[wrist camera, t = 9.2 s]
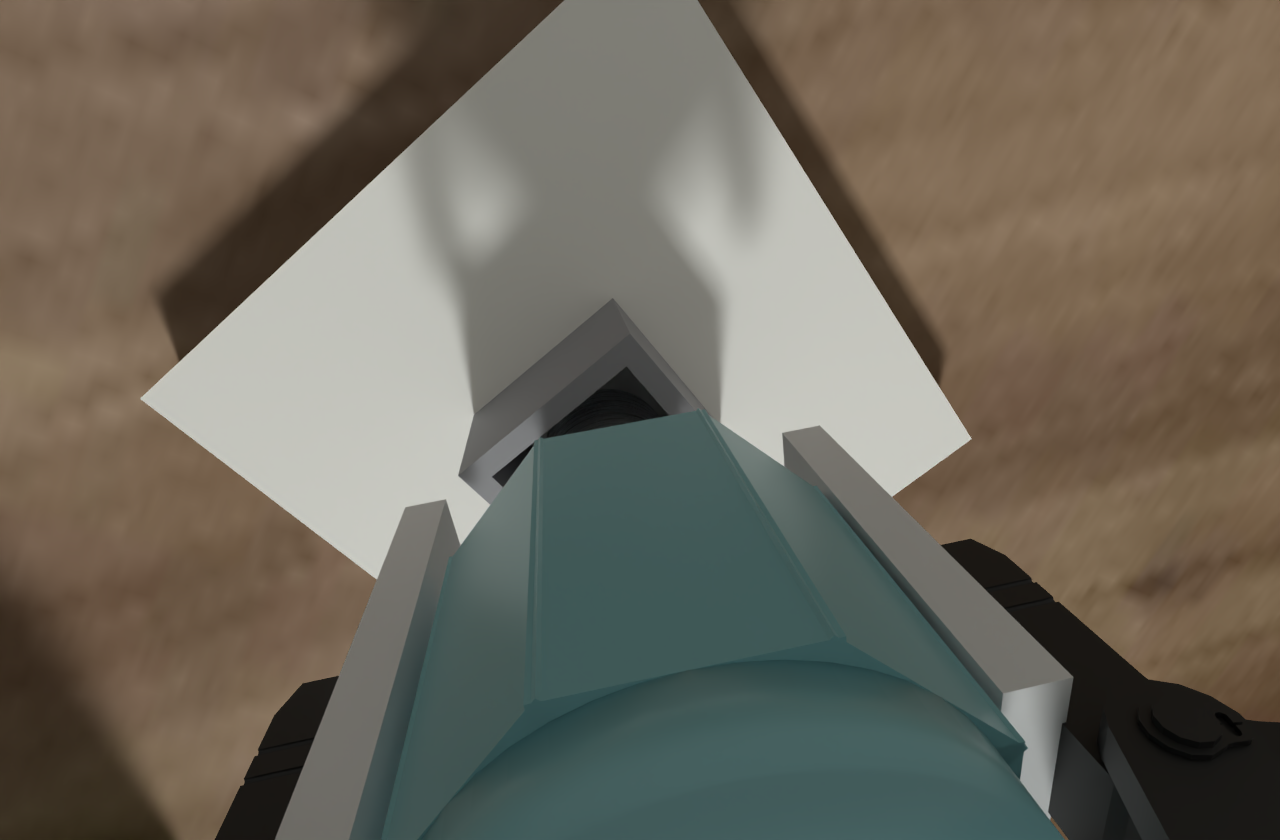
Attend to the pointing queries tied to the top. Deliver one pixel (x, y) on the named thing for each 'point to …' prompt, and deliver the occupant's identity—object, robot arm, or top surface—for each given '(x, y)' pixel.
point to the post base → (558, 292)
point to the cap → (691, 666)
